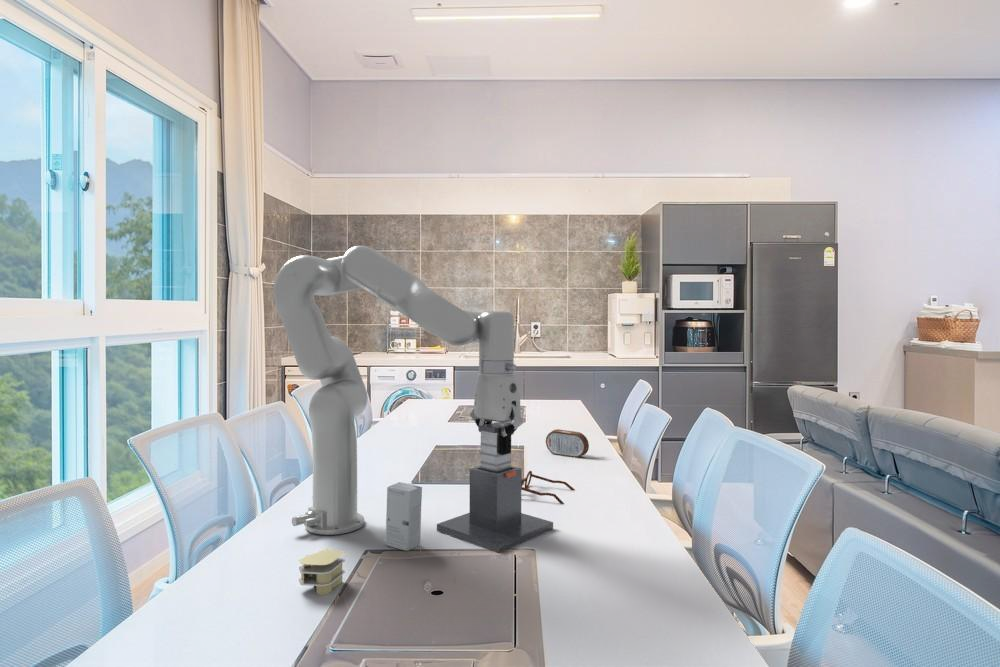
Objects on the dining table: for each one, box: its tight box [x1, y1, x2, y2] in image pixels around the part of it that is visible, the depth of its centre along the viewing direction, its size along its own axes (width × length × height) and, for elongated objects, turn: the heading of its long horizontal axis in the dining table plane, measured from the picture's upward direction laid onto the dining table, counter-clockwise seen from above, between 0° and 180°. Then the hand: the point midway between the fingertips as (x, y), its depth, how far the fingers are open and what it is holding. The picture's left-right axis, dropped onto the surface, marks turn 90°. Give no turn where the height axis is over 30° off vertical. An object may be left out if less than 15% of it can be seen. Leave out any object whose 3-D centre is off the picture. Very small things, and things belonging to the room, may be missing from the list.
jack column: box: [478, 421, 512, 474], centre depth 131 cm, size 6×5×21 cm
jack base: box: [436, 465, 554, 553], centre depth 131 cm, size 18×18×14 cm
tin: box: [545, 428, 590, 459], centre depth 201 cm, size 15×3×8 cm, turn 58°
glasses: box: [521, 470, 575, 505], centre depth 158 cm, size 13×13×5 cm
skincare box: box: [385, 481, 423, 552], centre depth 122 cm, size 6×4×12 cm
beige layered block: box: [298, 548, 346, 596], centre depth 103 cm, size 10×9×6 cm
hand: (495, 450), depth 131 cm, fingers closed on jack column, 4 cm apart
